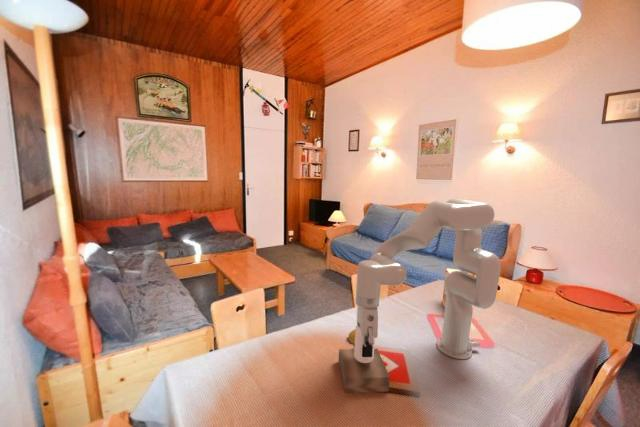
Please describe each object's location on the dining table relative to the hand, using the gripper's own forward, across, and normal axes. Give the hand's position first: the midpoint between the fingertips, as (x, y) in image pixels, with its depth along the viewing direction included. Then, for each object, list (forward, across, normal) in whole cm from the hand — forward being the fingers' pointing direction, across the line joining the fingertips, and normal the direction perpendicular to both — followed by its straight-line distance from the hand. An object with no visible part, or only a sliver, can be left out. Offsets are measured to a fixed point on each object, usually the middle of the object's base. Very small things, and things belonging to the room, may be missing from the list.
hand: (364, 348), depth 93 cm
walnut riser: (+10, 0, 0) cm, 10 cm away
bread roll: (+10, +19, -3) cm, 22 cm away
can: (+3, 0, 0) cm, 3 cm away
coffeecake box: (+11, +43, -57) cm, 72 cm away
